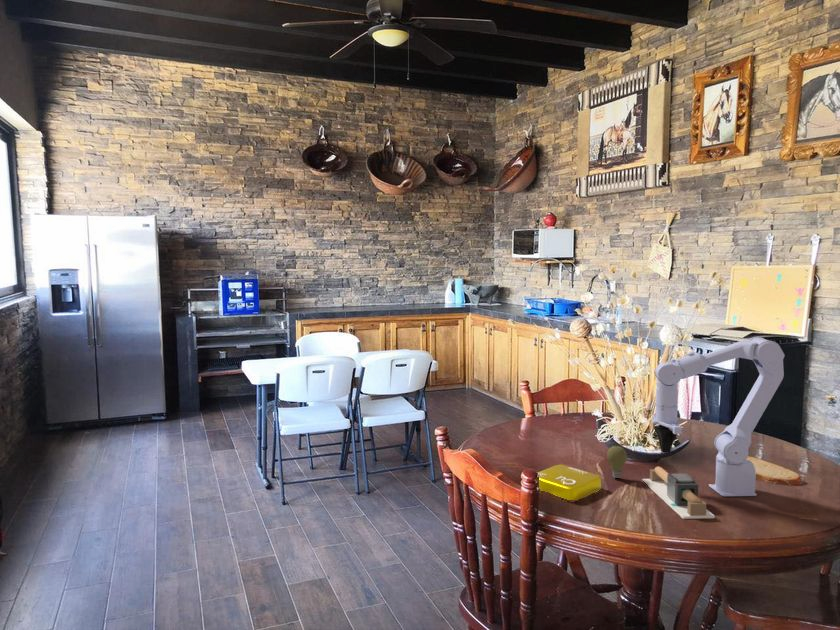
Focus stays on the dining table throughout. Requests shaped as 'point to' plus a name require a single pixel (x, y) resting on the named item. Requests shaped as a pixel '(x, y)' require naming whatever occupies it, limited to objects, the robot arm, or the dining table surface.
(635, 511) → the dining table surface
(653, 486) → the pipe rig
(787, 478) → the slice of bread
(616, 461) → the light bulb
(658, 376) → the robot arm
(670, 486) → the sleeve
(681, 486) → the grey square frame
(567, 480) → the element tile
